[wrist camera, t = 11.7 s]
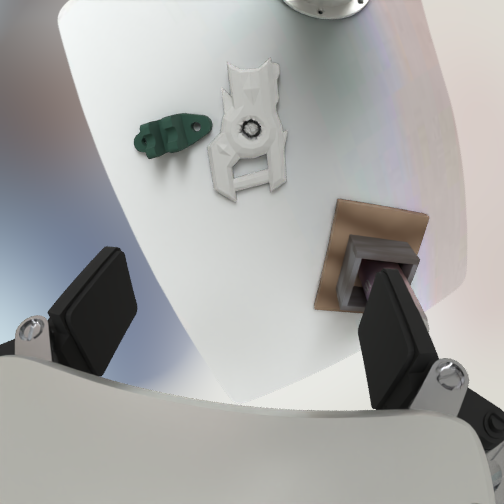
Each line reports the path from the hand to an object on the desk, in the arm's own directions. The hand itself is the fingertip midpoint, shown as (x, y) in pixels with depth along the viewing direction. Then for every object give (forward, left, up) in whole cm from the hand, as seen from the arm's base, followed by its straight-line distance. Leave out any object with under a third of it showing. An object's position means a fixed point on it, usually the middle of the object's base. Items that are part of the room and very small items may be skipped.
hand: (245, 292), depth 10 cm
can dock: (+14, +16, -29) cm, 36 cm away
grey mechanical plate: (-2, -3, -30) cm, 30 cm away
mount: (-2, -13, -29) cm, 32 cm away
